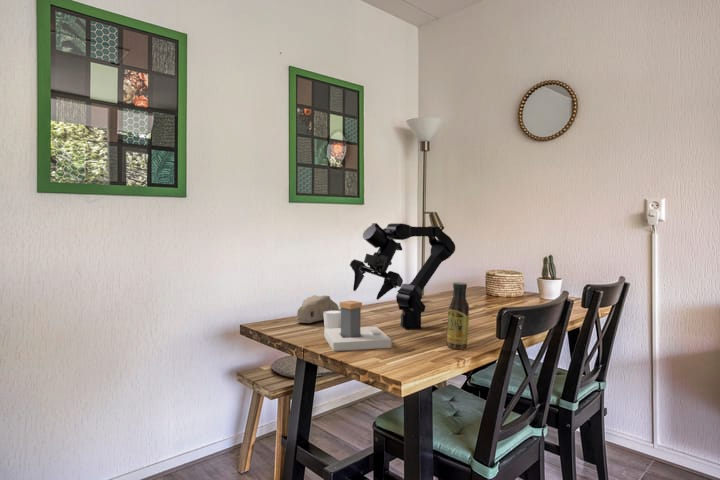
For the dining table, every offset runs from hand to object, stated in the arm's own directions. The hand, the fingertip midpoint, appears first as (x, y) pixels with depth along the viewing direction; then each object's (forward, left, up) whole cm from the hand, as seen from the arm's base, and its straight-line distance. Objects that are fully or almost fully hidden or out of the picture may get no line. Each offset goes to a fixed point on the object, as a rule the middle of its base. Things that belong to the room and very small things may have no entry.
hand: (365, 294), depth 151 cm
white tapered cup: (+9, -9, -14) cm, 19 cm away
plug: (+7, +7, -14) cm, 17 cm away
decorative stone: (+13, -27, -14) cm, 33 cm away
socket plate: (+4, +6, -14) cm, 16 cm away
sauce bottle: (-25, +19, -14) cm, 34 cm away
